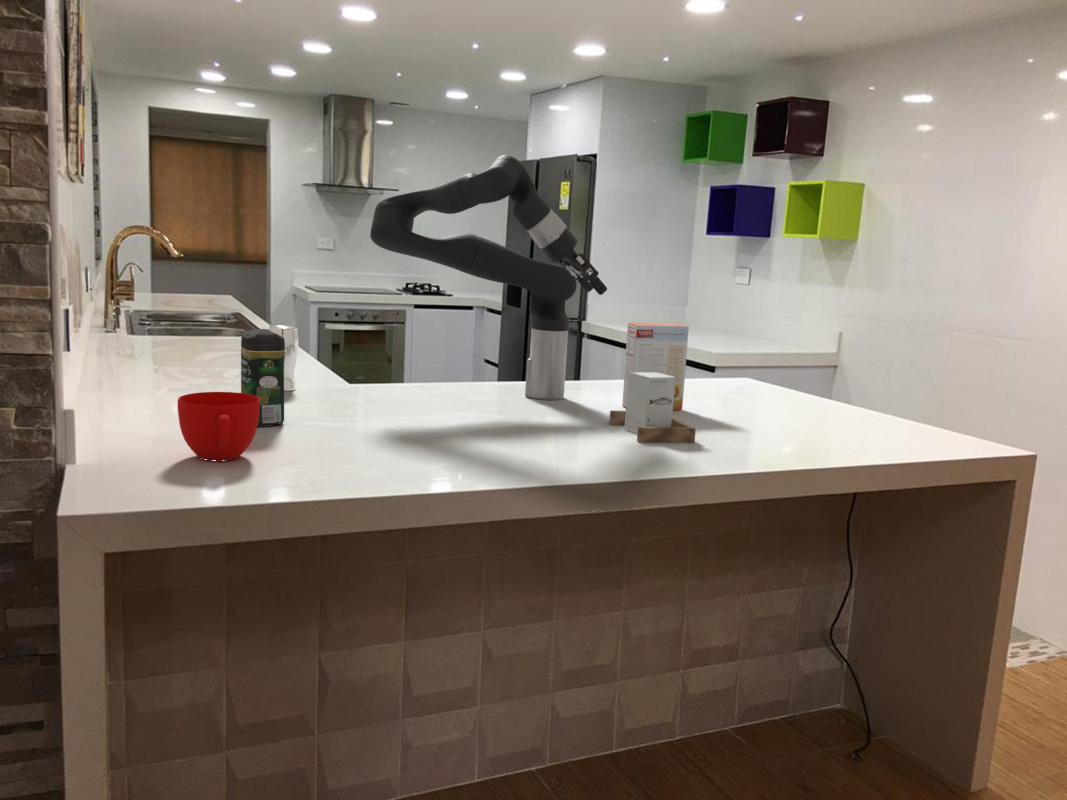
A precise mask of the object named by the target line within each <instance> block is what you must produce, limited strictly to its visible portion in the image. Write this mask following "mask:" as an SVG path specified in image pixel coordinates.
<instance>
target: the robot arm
mask: <svg viewBox="0 0 1067 800" xmlns="http://www.w3.org/2000/svg"><path fill="white" fill-rule="evenodd" d="M508 197H510V199H511V201H512V207H511V212H512V215H513V216H514V217H515V219H516V220H517V221H518V222H519V224H520V225H521V226H522V228H523V229H524V230H525V231H526V232H527V233H528V235H529V237H530V238H531V239H532V241H533V242H534V243H535V245H536V246H537V247H538V248H539V250H541V252H542V253H543V254H544V255H545V256H546V258H547V259H548V260H549V262H551V263H548V262H546V261H541V260H537V259H534V258H530V257H528V256H525V255H523V254H521V253H519V252H517V251H515V250H513V249H512V248H509V247H506V246H504V245H502V244H499V243H498V242H494V241H492V240H490V239H487V238H484V237H482V236H479V235H476V234H472V233H469V232H468V233H465V232H464V233H457V234H452V235H447V236H444V237H443V236H442V237H430V236H425V235H421V234H420V233H419V234H418V233H415V232H414V231H413V228H414V222H415V218H416V217H418V216H419V215H421V214H422V213H425V212H429V211H431V212H432V211H434V212H437V213H441V214H445V215H446V214H447V215H453V214H454V215H455V214H458V213H462V212H465V211H467V210H469V209H472V208H474V207H477V206H479V205H481V204H484V205H485V204H491V203H496V202H498V201H501V200H503V199H506V198H508ZM369 236H370V239H371V241H372V242H373V243H374V244H375V245H376V246H377V247H379V248H382V249H384V250H386V251H389V252H393V253H396V254H401V255H405V256H409V257H412V258H413V257H414V258H418V259H422V260H425V261H430V262H433V263H435V264H439V265H443V266H445V267H448V268H452V269H453V270H456V271H459V272H462V273H465V274H467V275H470V276H473V277H476V278H479V279H482V280H487V281H490V282H491V281H492V282H495V283H501V284H506V285H509V286H515V287H519V288H522V289H525V290H527V291H529V292H530V295H529V296H530V302H529V314H530V315H529V316H530V318H531V319H530V320H531V332H530V333H531V335H530V346H529V348H530V350H529V358H527V360H526V372H525V373H526V375H525V376H526V377H525V387H524V388H525V391H524V393H525V394H524V396H525V397H527V398H528V397H529V398H532V399H536V400H548V401H549V400H550V401H551V400H552V401H555V400H562V399H564V396H565V384H566V383H565V382H566V367H567V356H568V354H567V353H568V338H569V337H568V336H569V323H570V322H569V318H568V316H567V314H566V313H567V311H566V301H568V300H569V299H571V298H572V297H573V296H574V294H575V293H576V291H577V286H578V285H577V282H578V283H579V284H580V286H582V288H583V289H584V290H585V291H586V292H588V293H590V292H591V291H592V290H593V289H594V290H595V292H596V293H597V294H598V295H599V296H602V295H603V294H605V292H607V291H608V288H607V286H606V285H605V283H604V282H603V281H602V280H601V279H600V277H599V271H598V270H597V269H596V268H595V267H594V266H593V264H592V263H591V262H590V261H589V260H588V259H587V258H586V256H585V254H583V253H582V252H581V253H579V252H578V253H577V251H575V247H576V246H577V245H578V241H579V240H578V237H576V236H575V235H574V234H573V233H572V231H571V230H570V229H569V228H568V226H567V225H566V224H565V222H564V221H563V220H562V219H561V218H560V216H559V215H558V214H556V213H555V212H554V211H553V210H552V209H551V207H550V206H549V205H548V204H547V202H546V201H545V200H544V199H543V198H542V196H541V195H540V194H539V192H538V191H537V189H536V186H535V184H534V182H533V180H532V178H531V176H530V175H529V172H528V171H527V169H526V168H525V166H524V164H522V163H521V161H520V160H519V159H517V158H515V157H514V156H512V155H509V154H503V155H499V156H498V157H497V158H495V160H494V161H493V162H492V163H491V164H490V165H489V167H488V168H487V169H486V170H483V171H482V172H479V173H474V172H470V173H466V174H463V175H461V176H459V177H457V178H454V179H452V180H450V181H446V182H445V183H441V184H439V185H436V186H433V187H428V188H425V189H420V190H415V191H410V192H407V193H402V194H397V195H394V196H393V195H392V196H389V197H385V198H384V199H382V200H380V201H379V202H377V205H376V206H375V209H374V212H373V219H372V221H371V227H370V233H369ZM557 262H558V263H559V264H554V263H557ZM589 273H590V274H589Z"/></svg>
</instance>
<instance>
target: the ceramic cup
mask: <svg viewBox="0 0 1067 800" xmlns="http://www.w3.org/2000/svg"><path fill="white" fill-rule="evenodd" d="M259 411H260V398H258V397H257V396H254V395H250V394H245V393H241V392H236V391H235V392H234V391H232V392H231V391H203V392H195V393H194V392H193V393H188V394H183V395H181V396H179V397H178V398H177V413H178V423H179V427H180V432H181V434H182V437H183V439H184V441H185V442H186V444H187V446H188V447H189V449H190V450H191V451H192V452H193V453H194V454H195V455H196V456H197V458H198V457H199V458H202V459H207V460H216V461H222V460H231V461H233V460H232V459H235V460H237V459H236V458H238V459H240V457H241V455H242V454H243V453H245V451H246V450H247V449H248V448H249V446H250V445H251V443H252V442H253V440H254V438H255V436H256V433H257V430H258V420H259ZM199 458H198V459H199ZM222 462H223V461H222Z"/></svg>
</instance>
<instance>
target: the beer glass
mask: <svg viewBox="0 0 1067 800" xmlns="http://www.w3.org/2000/svg"><path fill="white" fill-rule="evenodd" d="M268 329H269V330H270V331H272V332H274V333H276V334H278V335H280V336H282V337H283V338H284V340H285V358H284V392H293V391H295V390H297V389H296V382H295V381H296V380H295V371H296V363H297V360H298V353H299V331H298V326H293V325H269V327H268Z"/></svg>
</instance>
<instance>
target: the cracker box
mask: <svg viewBox="0 0 1067 800" xmlns="http://www.w3.org/2000/svg"><path fill="white" fill-rule="evenodd" d="M689 329H690V327H689V326H688V325H686V324H685V325H684V324H681V323H655V322H651V323H650V322H629V323H627V332H626V333H627V334H626V345H625V346H626V347H625V358H624V359H625V363H624V376H623V377H624V379H623V391H622V403H621V404H622V408H625V409H626V403H627V392H628V381H629V373H638V372H657V373H661V374H665V375H670V376H673V377H676V381H675V392H674V402H673V411H682V410H683V405H684V404H683V403H684V402H683V401H684V391H685V378H686V368H687V367H686V365H687V352H688V341H689Z"/></svg>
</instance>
